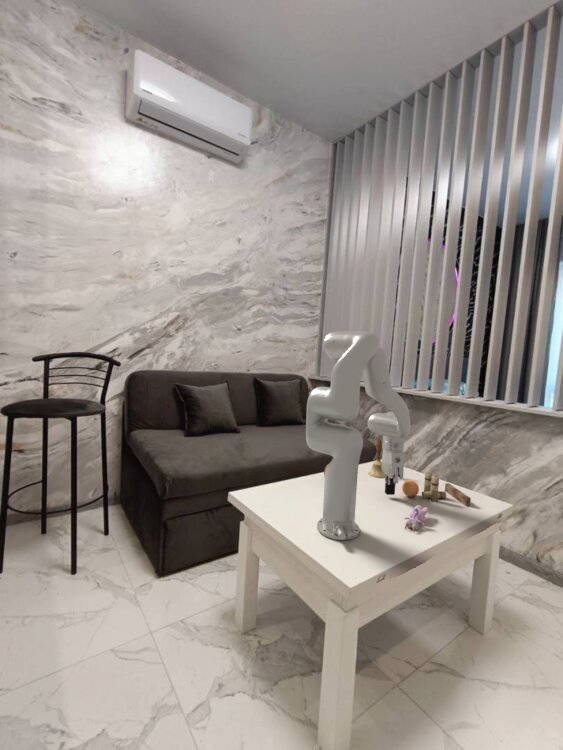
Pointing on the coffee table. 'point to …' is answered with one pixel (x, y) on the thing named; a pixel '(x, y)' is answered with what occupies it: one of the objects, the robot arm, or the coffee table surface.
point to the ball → (410, 488)
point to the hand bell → (377, 463)
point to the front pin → (428, 494)
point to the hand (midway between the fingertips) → (389, 493)
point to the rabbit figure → (416, 517)
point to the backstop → (457, 494)
